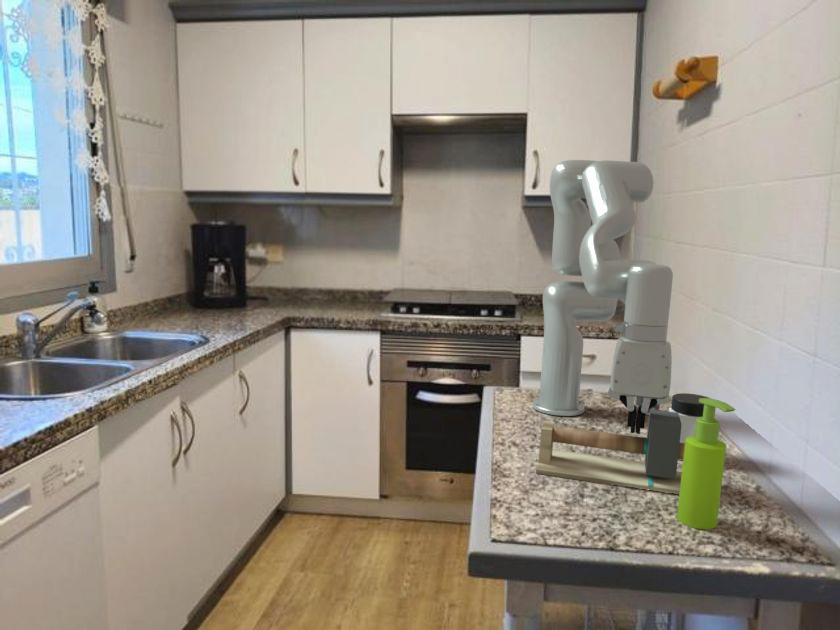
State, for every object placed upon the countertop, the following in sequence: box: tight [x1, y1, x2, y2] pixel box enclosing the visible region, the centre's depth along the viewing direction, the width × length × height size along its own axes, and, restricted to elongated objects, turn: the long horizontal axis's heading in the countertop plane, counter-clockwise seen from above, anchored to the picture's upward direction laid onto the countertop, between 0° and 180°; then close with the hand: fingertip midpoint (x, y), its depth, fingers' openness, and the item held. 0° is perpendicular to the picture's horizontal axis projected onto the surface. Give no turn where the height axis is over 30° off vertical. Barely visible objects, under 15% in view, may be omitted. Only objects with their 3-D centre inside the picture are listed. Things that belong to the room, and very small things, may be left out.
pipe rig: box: [535, 420, 685, 495], centre depth 123 cm, size 12×30×8 cm, turn 73°
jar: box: [668, 392, 717, 462], centre depth 135 cm, size 9×8×12 cm
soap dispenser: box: [676, 397, 736, 530], centre depth 104 cm, size 6×7×20 cm
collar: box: [644, 409, 682, 479], centre depth 121 cm, size 8×5×10 cm, turn 163°
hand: (635, 431), depth 122 cm, fingers closed
